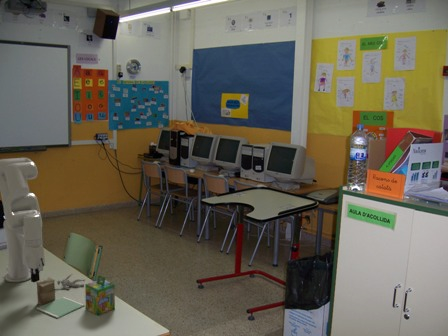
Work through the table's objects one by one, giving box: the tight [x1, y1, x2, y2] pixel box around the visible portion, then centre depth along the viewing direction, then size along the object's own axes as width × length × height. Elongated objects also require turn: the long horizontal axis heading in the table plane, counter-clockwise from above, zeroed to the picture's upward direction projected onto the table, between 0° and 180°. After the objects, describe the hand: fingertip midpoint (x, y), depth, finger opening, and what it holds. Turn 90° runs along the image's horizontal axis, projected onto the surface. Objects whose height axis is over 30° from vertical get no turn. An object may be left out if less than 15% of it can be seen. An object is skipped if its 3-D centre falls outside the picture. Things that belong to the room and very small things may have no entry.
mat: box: [35, 296, 85, 320], centre depth 204 cm, size 14×14×1 cm
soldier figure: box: [56, 273, 86, 291], centre depth 225 cm, size 8×5×12 cm
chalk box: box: [84, 274, 116, 316], centre depth 203 cm, size 9×9×15 cm
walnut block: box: [36, 276, 56, 306], centre depth 209 cm, size 4×6×10 cm
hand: (35, 281), depth 212 cm, fingers closed
